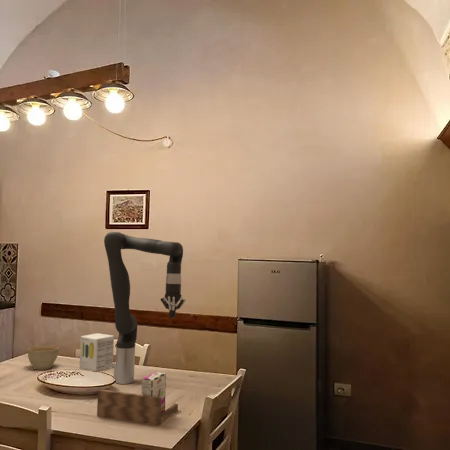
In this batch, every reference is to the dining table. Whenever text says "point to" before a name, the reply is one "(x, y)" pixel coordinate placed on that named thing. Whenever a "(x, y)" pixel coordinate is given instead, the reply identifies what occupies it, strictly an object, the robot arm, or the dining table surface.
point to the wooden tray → (132, 407)
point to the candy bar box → (155, 387)
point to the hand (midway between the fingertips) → (172, 317)
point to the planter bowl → (42, 356)
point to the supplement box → (96, 352)
